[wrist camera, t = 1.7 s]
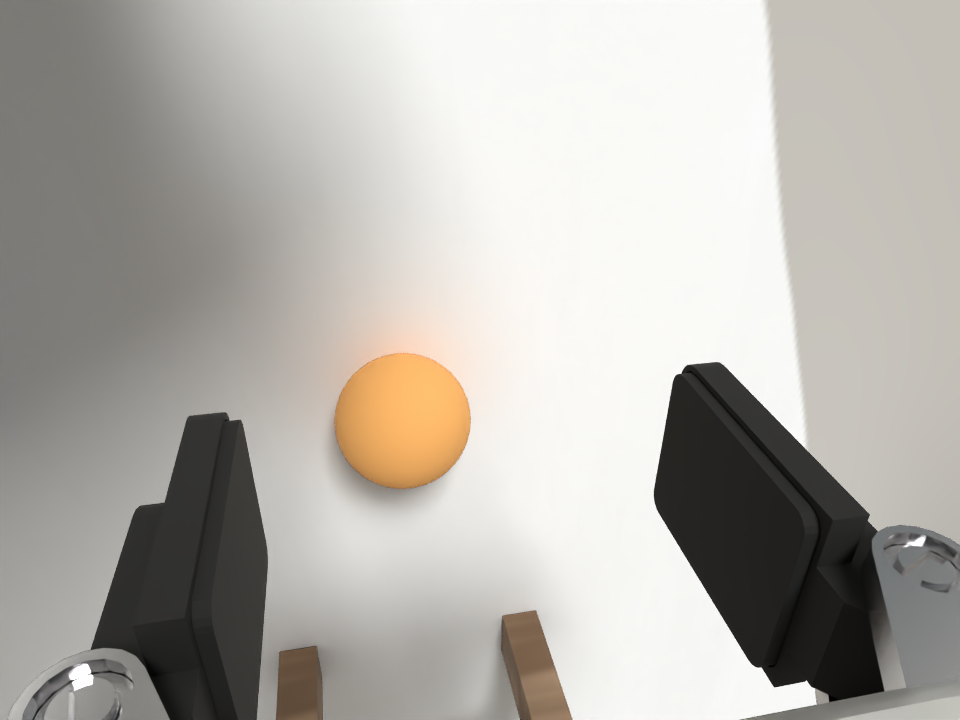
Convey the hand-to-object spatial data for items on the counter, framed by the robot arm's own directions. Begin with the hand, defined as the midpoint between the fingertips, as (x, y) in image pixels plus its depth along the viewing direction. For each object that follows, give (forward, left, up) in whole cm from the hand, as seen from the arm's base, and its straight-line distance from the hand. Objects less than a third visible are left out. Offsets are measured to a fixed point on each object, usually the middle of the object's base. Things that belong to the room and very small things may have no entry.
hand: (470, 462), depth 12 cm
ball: (+10, 0, -15) cm, 18 cm away
